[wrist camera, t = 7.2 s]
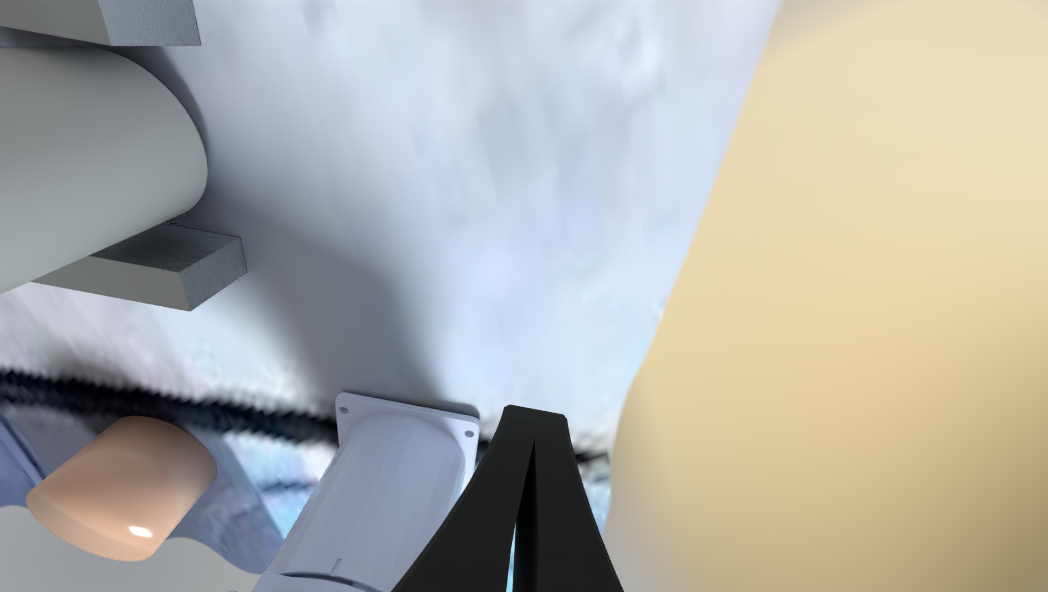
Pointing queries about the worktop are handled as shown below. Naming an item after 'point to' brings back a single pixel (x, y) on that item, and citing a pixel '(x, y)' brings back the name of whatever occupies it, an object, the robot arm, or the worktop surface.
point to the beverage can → (86, 156)
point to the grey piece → (164, 250)
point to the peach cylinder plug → (125, 488)
